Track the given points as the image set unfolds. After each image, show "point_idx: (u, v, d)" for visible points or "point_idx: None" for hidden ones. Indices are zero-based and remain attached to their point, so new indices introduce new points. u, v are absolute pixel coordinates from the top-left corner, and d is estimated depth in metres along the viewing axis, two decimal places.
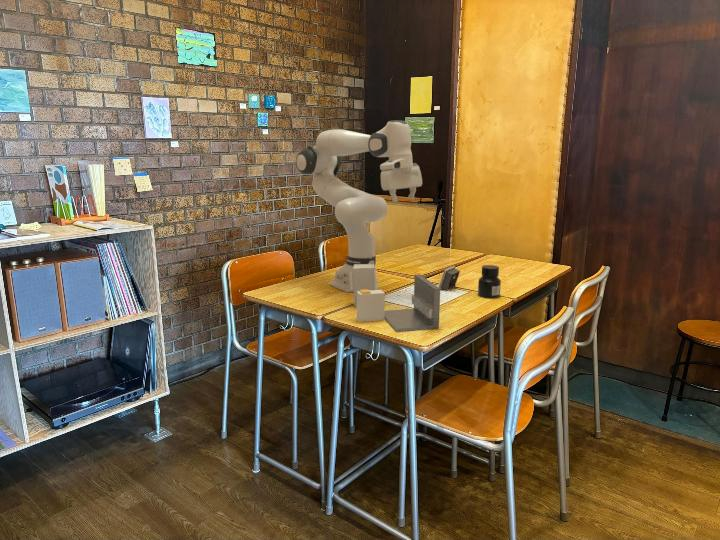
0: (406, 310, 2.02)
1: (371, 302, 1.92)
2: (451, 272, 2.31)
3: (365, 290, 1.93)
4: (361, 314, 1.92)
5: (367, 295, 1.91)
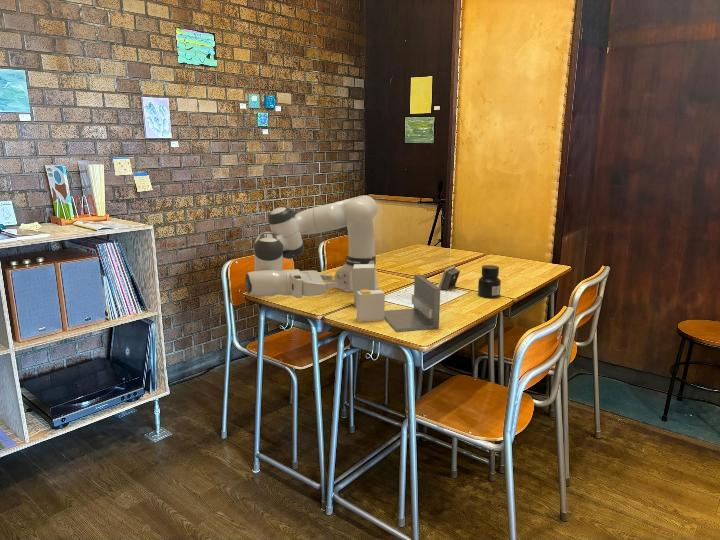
0: (406, 310, 2.02)
1: (371, 302, 1.92)
2: (451, 272, 2.31)
3: (365, 290, 1.93)
4: (361, 314, 1.92)
5: (367, 295, 1.91)
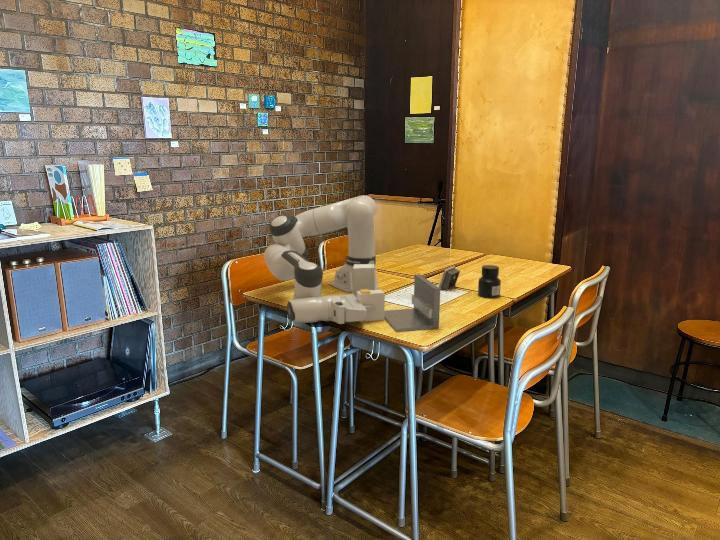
0: (406, 310, 2.02)
1: (371, 302, 1.92)
2: (451, 272, 2.31)
3: (365, 290, 1.93)
4: None
5: (367, 295, 1.91)
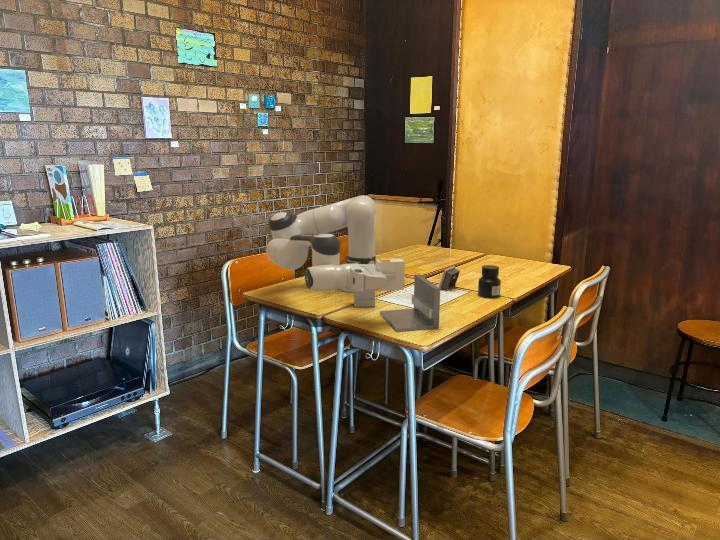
0: (406, 310, 2.02)
1: (391, 270, 1.87)
2: (451, 272, 2.31)
3: (385, 258, 1.88)
4: None
5: (387, 263, 1.86)
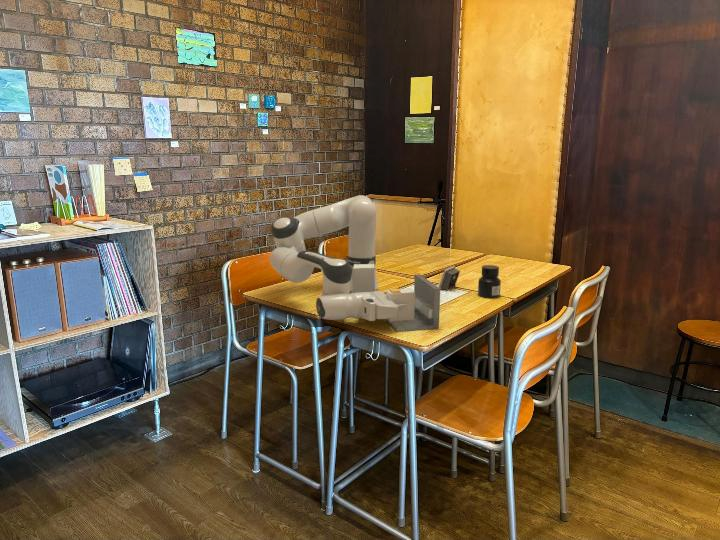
0: None
1: (401, 301, 1.89)
2: (451, 272, 2.31)
3: (395, 289, 1.90)
4: None
5: (397, 294, 1.88)
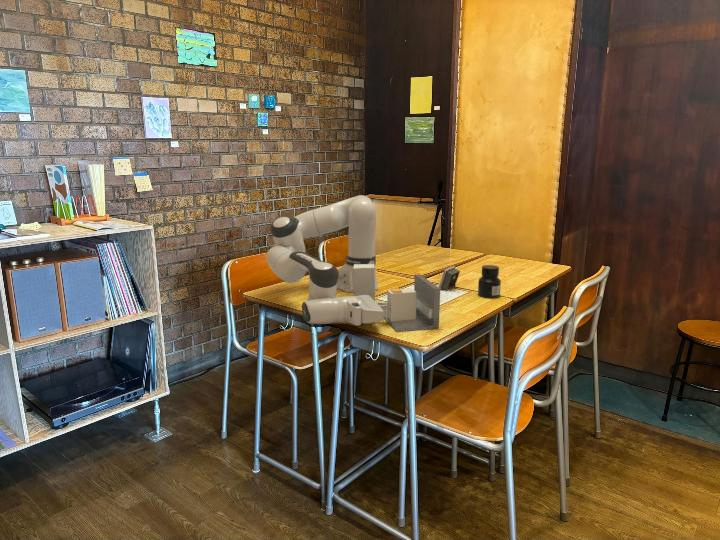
0: None
1: (403, 301, 1.89)
2: (451, 272, 2.31)
3: (396, 289, 1.90)
4: (392, 313, 1.89)
5: (399, 294, 1.88)
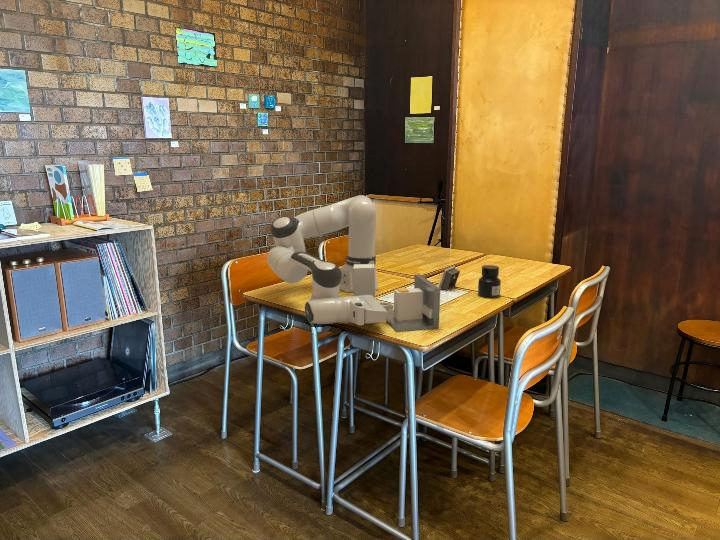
0: None
1: (409, 300, 1.90)
2: (451, 272, 2.31)
3: (403, 289, 1.91)
4: (399, 313, 1.90)
5: (405, 294, 1.89)
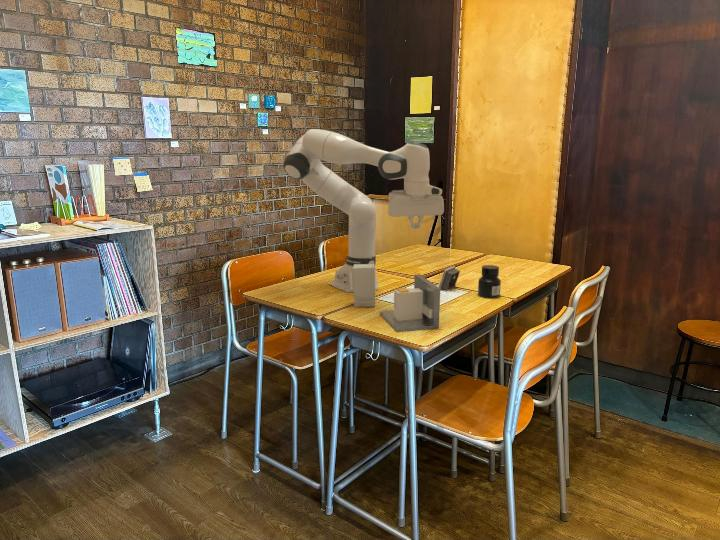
0: None
1: (409, 300, 1.90)
2: (451, 272, 2.31)
3: (403, 289, 1.91)
4: (399, 313, 1.90)
5: (405, 294, 1.89)
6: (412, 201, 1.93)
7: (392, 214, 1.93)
